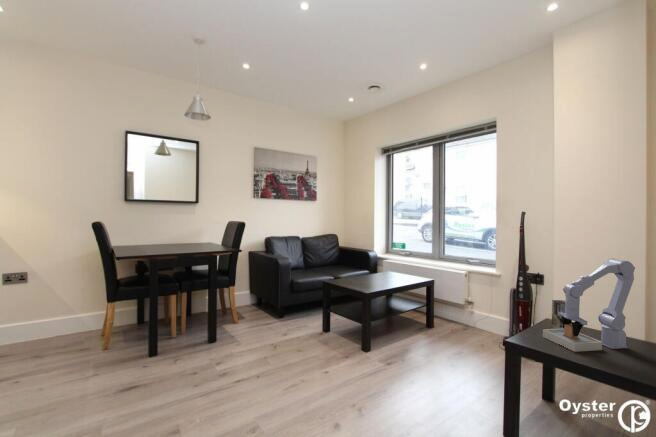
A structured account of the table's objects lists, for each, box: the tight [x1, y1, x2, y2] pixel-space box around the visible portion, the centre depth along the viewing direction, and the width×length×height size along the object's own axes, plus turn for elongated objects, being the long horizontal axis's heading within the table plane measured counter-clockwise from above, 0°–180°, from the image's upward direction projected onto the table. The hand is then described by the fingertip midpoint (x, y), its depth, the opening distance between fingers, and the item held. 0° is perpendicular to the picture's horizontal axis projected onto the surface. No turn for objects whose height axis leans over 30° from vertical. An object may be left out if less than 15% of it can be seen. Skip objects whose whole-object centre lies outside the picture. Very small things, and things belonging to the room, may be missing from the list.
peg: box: [564, 324, 578, 339], centre depth 160 cm, size 4×4×8 cm
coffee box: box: [551, 299, 573, 329], centre depth 178 cm, size 9×6×16 cm
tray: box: [542, 328, 603, 353], centre depth 160 cm, size 16×18×4 cm
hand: (571, 334), depth 160 cm, fingers open, 4 cm apart
